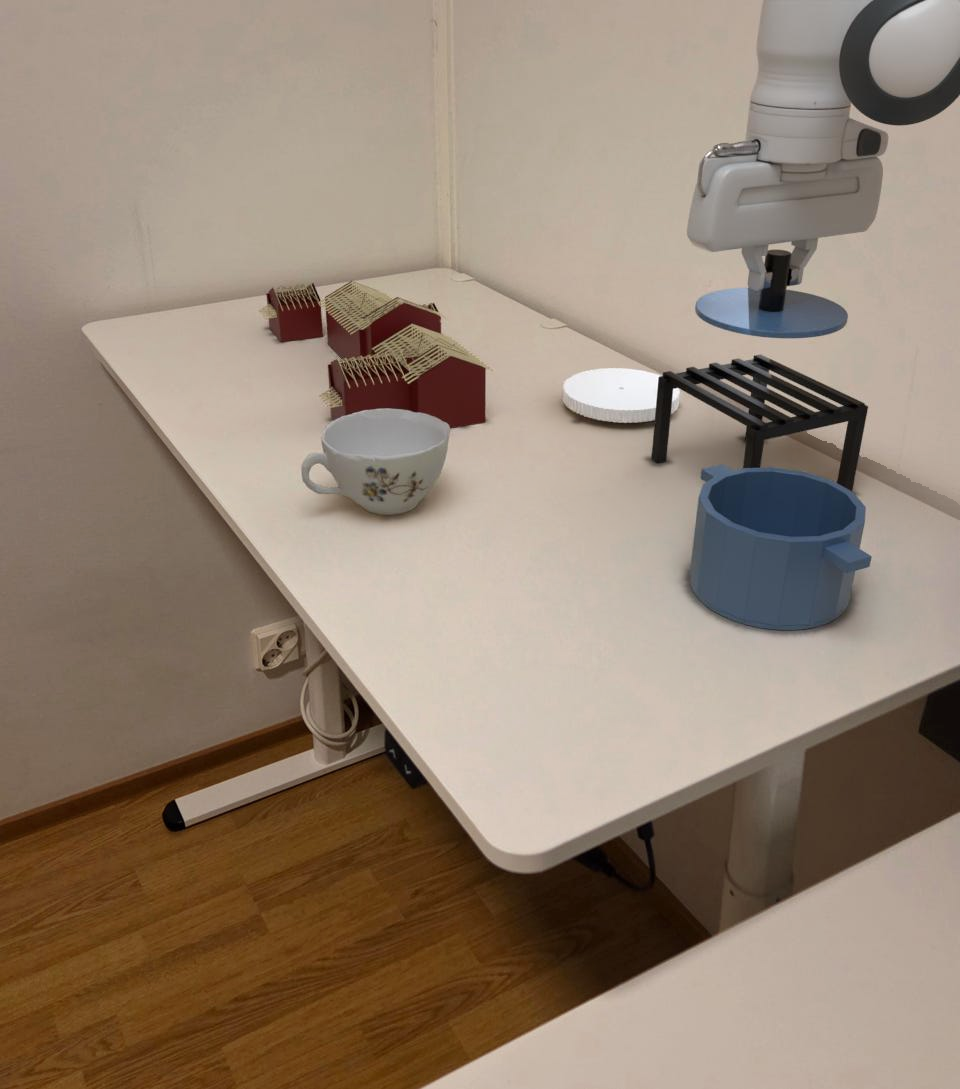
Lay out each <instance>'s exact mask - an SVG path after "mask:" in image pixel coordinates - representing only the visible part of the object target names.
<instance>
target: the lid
mask: <svg viewBox="0 0 960 1089" xmlns="http://www.w3.org/2000/svg"><path fill="white" fill-rule="evenodd" d="M791 254H792V252H791V251H789V250H784V249H768V252H767V255H766V256H764V261H763V262H764V265H765V269H766V270H769V271H771V272H773V276H772V280H771V283H772V284H771V287H770V289H766V290H761V291H755V290H752V289H750V288H749V287H748V286H747V287H734V288H725V289H719V290H714V291H712V292H708V293H706V294H704V295H702V296H700V297H699V298H698V299H697V300H696V302H695V305H694V306H695V307H694V311H695V314H696V315H697V317H698V318H699V319H700V320H702V321H703V322H705V323H707V324H709V325H711V326H712V327H716V328H719V329H721V330H724V331H727V332H732V333H736V334H741V335H746V336H750V337H751V336H752V337H760V338H770V339H807V338H808V339H809V338H817V337H823V336H827V335H831V334H834V333H836V332H839V331H841V330H842V329H844V328H845V326H846V325H847V323H848V321H849V314H848V312H847V310H846V309H845V308H844V307H843V306H841V304H839V303H837V302H835V301H833V300H831V299H828V298H826V297H822V296H819V295H816V294H812V293H809V292H804V291H798V290H793V289H787V287H788V286H787V282H788V275H789V268H790V261H791Z"/></svg>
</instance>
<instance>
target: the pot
mask: <svg viewBox="0 0 960 1089" xmlns="http://www.w3.org/2000/svg"><path fill="white" fill-rule="evenodd" d="M700 479H701V480H702V481H704V483H703V484H702V485H701V489H700V492H699V494H698V497H697V498H698V499H697V508H696V514H695V515H696V516H695V525H694V533H693V543H692V552H691V559H690V567H689V580H690V586H691V589H692V592H693V593H694V595H695V596H696V598H697V599H698V600H699V601H700V602H701V603H702V604H703V605H704V606H706V607H707V608H708V609H710V610H711V611H713V612H714V613H716V614H718V615H720V616H722V617H724V618H726V619H729V620H731V621H733V622H735V623H736V622H737V623H739V624H743V625H746V626H749V627H755V628H758V629H759V628H760V629H766V630H772V631H773V630H775V631H798V630H799V631H802V630H807V629H808V630H809V629H813V628H817V627H821V626H824V625H827V624H830V623H831V622H833V621H834V620H836V619H837V618H839V617H840V616H842V614H843V613H844V612H845V611H846V609H847V607H848V605H849V603H850V599H851V594H852V589H853V583H854V579H855V575H856V574H855V573H856V572H857V571H860V570H863V569H867V568H870V567H871V562H872V558H873V556H872V555H871V554H869V553H867V552H866V551H864V550H862V549H861V544H862V538H863V533H864V528H865V524H866V509H867V507H866V505H864V503H863V502H862V501H861V499H860V498H859V497H858V496H857V494H855V492H854V491H853V490H852V491H850V490H848V489H846V488H845V487H843V486H841V485H839V484H838V483H837V481H834V480H831V479H829V478H825V477H822V476H819V475H815V474H813V473H809V472H806V471H800V470H794V469H786V468H780V467H771V466H769V467H760V468H743V467H742V468H738V469H734V470H733V469H731V468H729V467H728V466H726V465H725V464H717V465H713V466H709V467H704V468H702V469H701V470H700Z"/></svg>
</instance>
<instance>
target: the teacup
mask: <svg viewBox="0 0 960 1089" xmlns="http://www.w3.org/2000/svg"><path fill="white" fill-rule="evenodd" d="M451 429H452V428H450V427H449V425H448V424H447V423H446V422H443V421H441V420H440V419H438V418H436V417H433V416H430V415H428V414H424V413H420V412H418V413H415V412H412V411H409V410H401V409H389V408H385V409H374V410H364V411H360V412H357V413H353V414H350V415H346V416H342V417H340V418H338V419H336V420H334V419H333V420H332V421H330V423H329V424H327V426H325V427H324V428H323V430H322V434H321V437H320V438H321V439H320V441H321V447H322V451H323V453H322V452H321V453H320V452H312V453H309V454H308V455H307V456H306V457H305V458H304V460H303V461H302V463H301V480H302V483H304V484H305V486H306V487H307V488H308V489H309V490H310V491H312V492H314V493H315V494H318V495H342V496H345V497H348V498H349V499H351V500H352V501H353V502H354V503H356V504H357V505H359V506H361V508H362V509H364V510H365V511H367V512H369V513H372V514H374V515H380V516H395V515H401V514H405V513H408V512H409V511H411V510H413V509H414V508H416V507H417V505H419V503H420V501H421V500H423V499H424V498H425V497H426V496H427V494H429V493H430V491H431V490H432V489H433V487H434V486H435V484H436V483H437V481H438V480H439V478H440V475H441V474H442V471H443V468H444V466H445V462H446V458H447V453H448V448H449V441H450V434H451ZM317 464H320V465H322V466H323V467H324V468H325V470H326V471H327V472H329V473H330V474H331V476H332V477H333V479H334V481H335V482H336V483H337V486H324V485H321V484H318V483H316V482H314V481H313V480H311V478H310V472H311V469H312V467H313V466H314V465H317Z"/></svg>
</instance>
